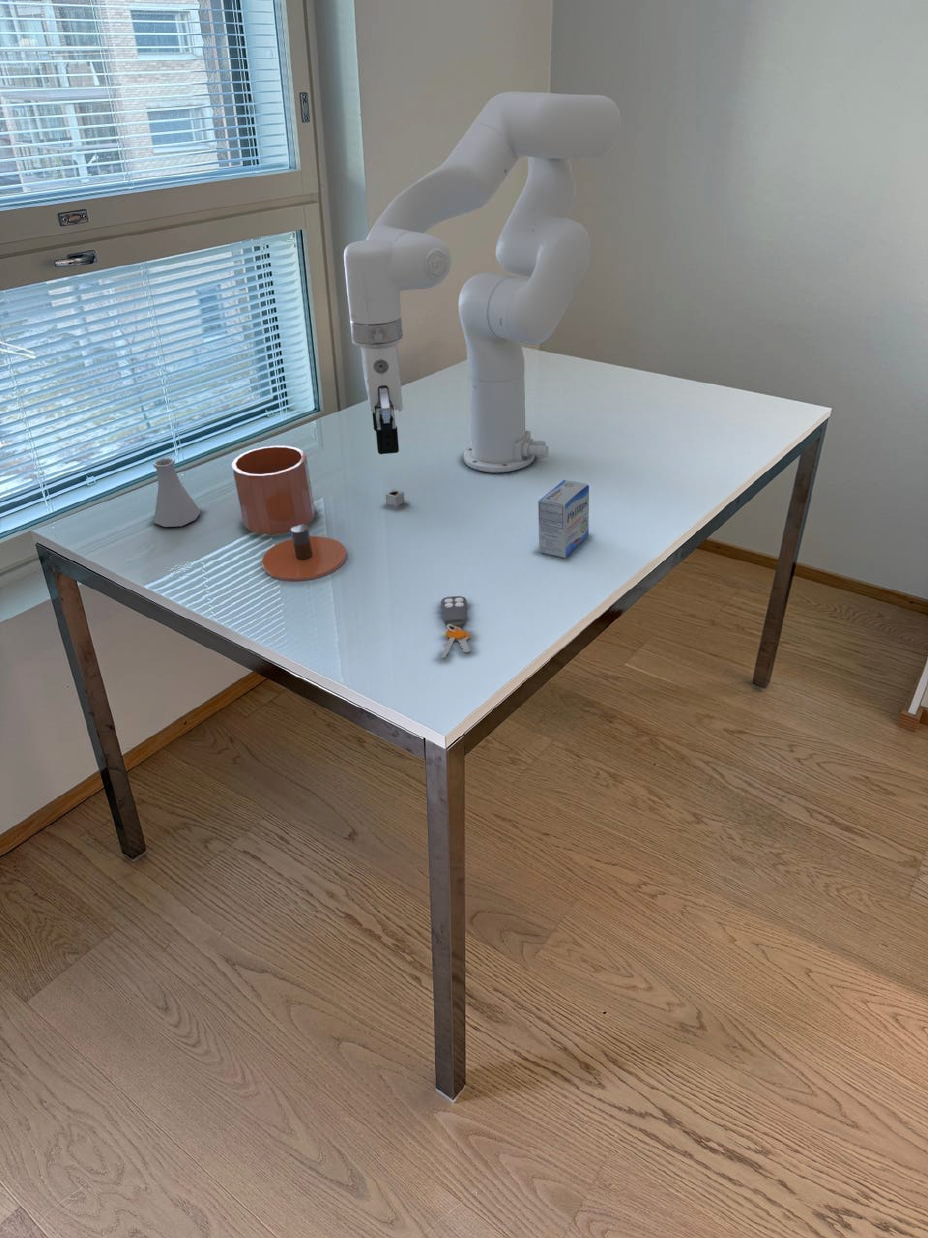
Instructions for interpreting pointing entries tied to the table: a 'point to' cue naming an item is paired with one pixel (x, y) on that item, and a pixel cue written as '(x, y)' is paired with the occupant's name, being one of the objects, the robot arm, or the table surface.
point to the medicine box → (563, 518)
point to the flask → (172, 497)
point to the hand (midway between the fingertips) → (386, 440)
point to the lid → (303, 556)
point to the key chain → (455, 621)
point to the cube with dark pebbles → (395, 498)
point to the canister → (273, 489)
